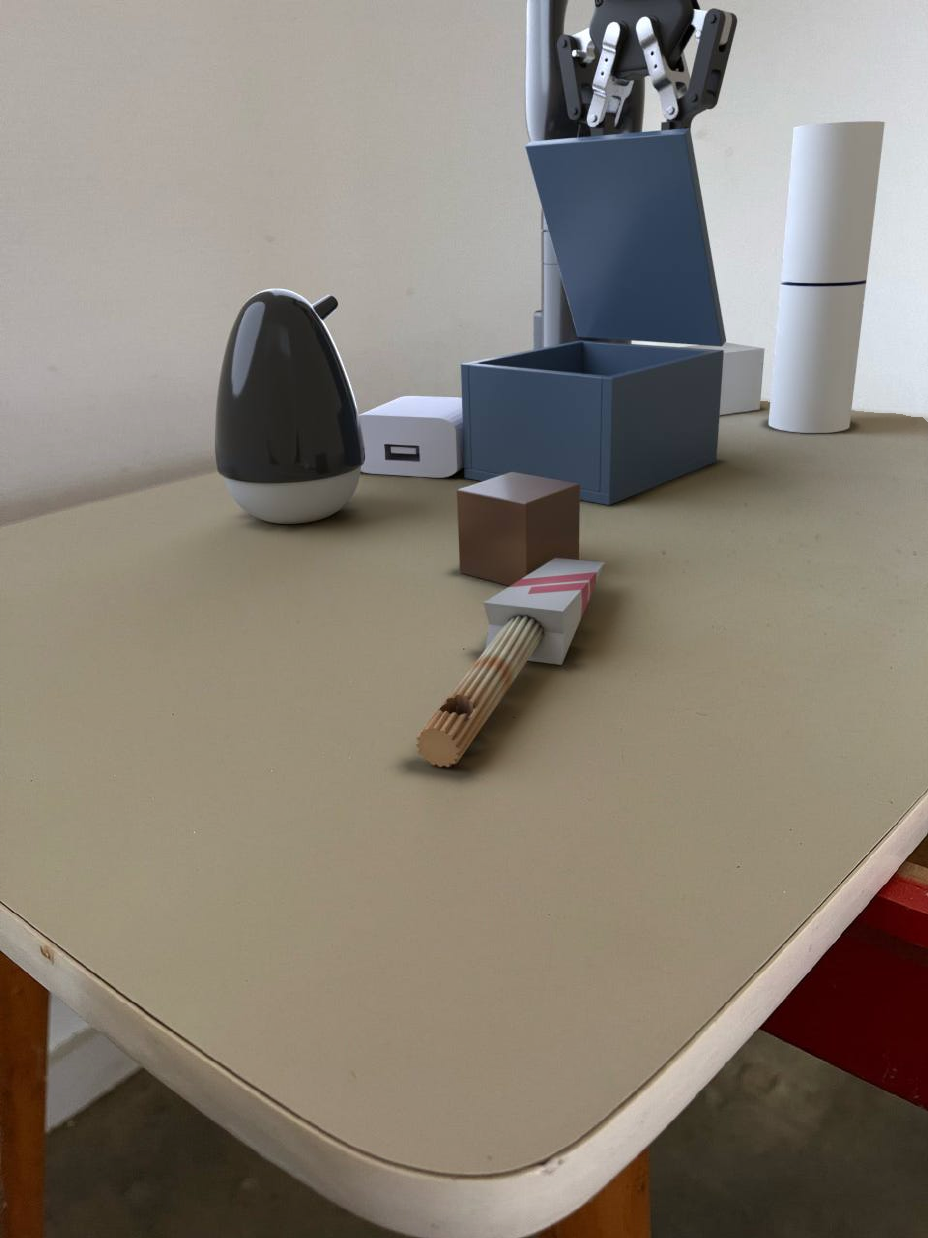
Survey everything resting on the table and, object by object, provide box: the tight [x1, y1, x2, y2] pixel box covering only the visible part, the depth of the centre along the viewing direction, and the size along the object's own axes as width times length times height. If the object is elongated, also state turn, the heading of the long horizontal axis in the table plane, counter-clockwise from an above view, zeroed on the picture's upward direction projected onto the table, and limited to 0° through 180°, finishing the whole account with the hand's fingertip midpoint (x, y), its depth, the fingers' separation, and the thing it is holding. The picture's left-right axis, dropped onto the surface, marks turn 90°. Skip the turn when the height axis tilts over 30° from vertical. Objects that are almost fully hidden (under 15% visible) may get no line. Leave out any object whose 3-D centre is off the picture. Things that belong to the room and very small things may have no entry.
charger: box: [358, 395, 464, 479], centre depth 85 cm, size 5×9×15 cm
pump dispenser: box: [214, 288, 365, 525], centre depth 68 cm, size 10×10×15 cm
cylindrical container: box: [768, 120, 886, 434], centre depth 87 cm, size 7×7×25 cm
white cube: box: [684, 341, 765, 416], centre depth 100 cm, size 6×6×6 cm
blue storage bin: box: [460, 340, 724, 506], centre depth 78 cm, size 16×14×9 cm
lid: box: [524, 128, 727, 346], centre depth 77 cm, size 16×14×5 cm
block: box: [456, 472, 581, 587], centre depth 57 cm, size 5×5×5 cm
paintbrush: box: [415, 558, 606, 768], centre depth 46 cm, size 4×3×20 cm
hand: (637, 179), depth 75 cm, fingers closed on lid, 5 cm apart
